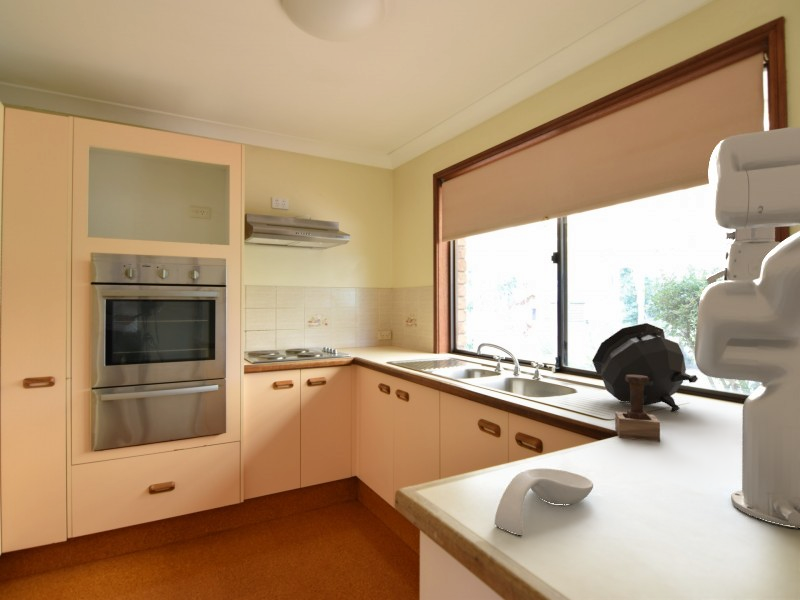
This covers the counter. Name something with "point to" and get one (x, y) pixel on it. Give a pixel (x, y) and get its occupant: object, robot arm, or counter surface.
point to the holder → (637, 427)
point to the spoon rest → (539, 493)
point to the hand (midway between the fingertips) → (752, 314)
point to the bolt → (637, 396)
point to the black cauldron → (642, 364)
